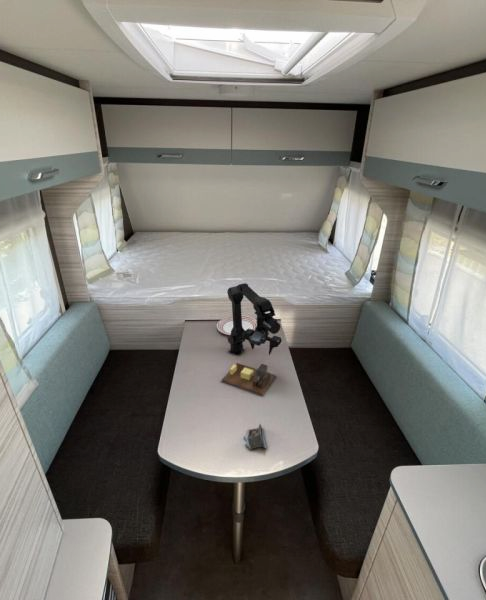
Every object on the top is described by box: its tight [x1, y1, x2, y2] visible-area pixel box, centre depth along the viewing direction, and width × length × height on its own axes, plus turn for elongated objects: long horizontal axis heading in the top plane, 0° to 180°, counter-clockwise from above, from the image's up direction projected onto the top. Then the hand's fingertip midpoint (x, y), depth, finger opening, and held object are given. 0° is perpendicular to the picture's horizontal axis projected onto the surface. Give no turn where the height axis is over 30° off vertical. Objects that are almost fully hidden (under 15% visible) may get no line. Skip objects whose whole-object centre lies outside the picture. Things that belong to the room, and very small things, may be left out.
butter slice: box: [229, 363, 237, 375], centre depth 166 cm, size 2×4×3 cm, turn 152°
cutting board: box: [221, 362, 276, 396], centre depth 163 cm, size 22×16×4 cm
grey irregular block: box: [244, 423, 267, 450], centre depth 127 cm, size 10×7×12 cm
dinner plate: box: [216, 315, 257, 336], centre depth 212 cm, size 27×27×3 cm
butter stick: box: [241, 368, 254, 380], centre depth 163 cm, size 5×4×3 cm
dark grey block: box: [256, 363, 268, 383], centre depth 159 cm, size 3×8×8 cm, turn 152°
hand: (261, 351), depth 164 cm, fingers open, 9 cm apart
